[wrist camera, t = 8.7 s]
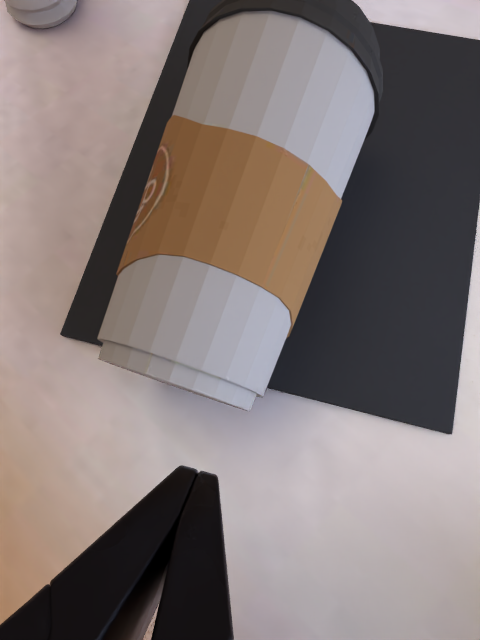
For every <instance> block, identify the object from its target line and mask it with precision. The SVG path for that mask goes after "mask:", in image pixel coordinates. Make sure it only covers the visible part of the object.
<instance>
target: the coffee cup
mask: <svg viewBox="0 0 480 640" xmlns="http://www.w3.org/2000/svg"><path fill="white" fill-rule="evenodd" d="M187 68H188V70H187V73H186V76H185V79H184V82H183V85H182V88H181V91H180V94H179V97H178V100H177V103H176V105H175V108H174V111H173V114H172V117H171V118H170V119H169V121H168V122H167V125H166V128H165V130H164V133H163V136H162V139H161V142H160V145H159V148H158V151H157V154H156V157H155V160H154V163H153V166H152V169H151V172H150V175H149V178H148V181H147V184H146V187H145V190H144V193H143V196H142V199H141V202H140V205H139V208H138V211H137V214H136V217H135V220H134V223H133V226H132V229H131V232H130V235H129V238H128V241H127V244H126V247H125V250H124V253H123V256H122V259H121V262H120V265H119V267H118V270H117V273H116V275H117V276H118V278H117V281H116V284H115V287H114V290H113V293H112V296H111V299H110V302H109V305H108V308H107V311H106V314H105V317H104V320H103V323H102V326H101V329H100V332H99V335H98V338H97V339H98V340H99V341H101V342H103V346H102V349H101V352H100V355H99V358H98V359H100V360H102V361H105V362H107V363H110V364H113V365H115V366H118V367H121V368H124V369H126V370H129V371H132V372H135V373H138V374H140V375H143V376H146V377H149V378H152V379H155V380H157V381H160V382H163V383H166V384H169V385H172V386H175V387H178V388H180V389H183V390H186V391H189V392H192V393H195V394H198V395H201V396H204V397H207V398H210V399H213V400H216V401H219V402H222V403H225V404H228V405H231V406H234V407H237V408H240V409H243V410H246V411H250V410H251V407H252V405H253V402H254V400H255V397H256V396H257V397H263V395H264V393H265V390H266V388H267V385H268V383H269V380H270V378H271V375H272V373H273V370H274V367H275V365H276V362H277V360H278V357H279V355H280V352H281V350H282V347H283V345H284V342H285V340H286V338H287V337H289V335H290V333H291V330H292V328H293V325H294V323H295V320H296V318H297V315H298V313H299V310H300V308H301V305H302V302H303V300H304V297H305V295H306V292H307V290H308V287H309V285H310V282H311V280H312V277H313V275H314V272H315V270H316V267H317V264H318V262H319V259H320V257H321V254H322V252H323V249H324V247H325V244H326V242H327V239H328V237H329V234H330V231H331V229H332V226H333V224H334V221H335V219H336V216H337V214H338V211H339V209H340V206H341V204H342V200H341V197H342V195H343V192H344V190H345V187H346V185H347V182H348V180H349V177H350V175H351V172H352V170H353V167H354V165H355V162H356V159H357V157H358V154H359V152H360V149H361V147H362V144H363V142H364V141H365V140H366V139H367V138H368V136H369V135H370V134H371V133H372V132H373V129H374V126H375V124H376V121H377V118H378V116H379V102H380V100H381V97H382V92H383V68H382V65H381V62H380V48H379V44H378V41H377V38H376V35H375V32H374V29H373V26H372V25H371V23H370V22H369V20H368V19H367V18H366V16H365V15H364V13H363V12H362V10H361V9H360V7H359V6H358V5H357V4H355V3H354V2H353V1H352V0H222V1H221V2H219V3H218V4H217V5H216V6H215V7H213V8H212V10H211V11H210V13H209V15H208V17H207V18H206V20H205V22H204V24H203V26H202V27H201V29H200V30H199V31H198V33H197V35H196V37H195V38H194V40H193V42H192V44H191V46H190V48H189V56H188V64H187Z"/></svg>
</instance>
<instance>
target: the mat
mask: <svg viewBox="0 0 480 640" xmlns="http://www.w3.org/2000/svg"><path fill="white" fill-rule="evenodd" d="M221 1H222V0H190V1H189V3H188V6H187V8H186V11H185V14H184V16H183V19H182V21H181V24H180V26H179V29H178V32H177V34H176V37H175V39H174V42H173V44H172V47H171V50H170V52H169V55H168V57H167V60H166V63H165V65H164V68H163V70H162V73H161V75H160V78H159V81H158V83H157V86H156V88H155V91H154V94H153V96H152V99H151V101H150V104H149V106H148V109H147V112H146V114H145V117H144V119H143V122H142V124H141V127H140V130H139V132H138V135H137V137H136V140H135V143H134V145H133V148H132V150H131V153H130V155H129V158H128V161H127V163H126V166H125V168H124V171H123V173H122V176H121V179H120V181H119V184H118V186H117V189H116V192H115V194H114V197H113V199H112V202H111V204H110V207H109V210H108V212H107V215H106V217H105V220H104V222H103V225H102V228H101V230H100V233H99V235H98V238H97V241H96V243H95V246H94V248H93V251H92V253H91V256H90V259H89V261H88V264H87V266H86V269H85V271H84V274H83V277H82V279H81V282H80V284H79V287H78V290H77V292H76V295H75V297H74V300H73V302H72V305H71V308H70V310H69V313H68V315H67V318H66V321H65V323H64V326H63V328H62V331H61V333H60V334H61V335H62V336H65V337H69V338H73V339H77V340H81V341H85V342H89V343H92V344H96V345H100V346H103V342H101V341H99V340H98V339H97V338H98V335H99V332H100V329H101V326H102V323H103V320H104V317H105V314H106V311H107V308H108V305H109V302H110V299H111V296H112V293H113V290H114V287H115V284H116V281H117V278H118V276H117V275H116V273H117V270H118V267H119V265H120V262H121V259H122V256H123V253H124V250H125V247H126V244H127V241H128V238H129V235H130V232H131V229H132V226H133V223H134V220H135V217H136V214H137V211H138V208H139V205H140V202H141V199H142V196H143V193H144V190H145V187H146V184H147V181H148V178H149V175H150V172H151V169H152V166H153V163H154V160H155V157H156V154H157V151H158V148H159V145H160V142H161V139H162V136H163V133H164V130H165V128H166V125H167V122H168V121H169V119H170V118H171V117H172V114H173V111H174V108H175V105H176V103H177V100H178V97H179V94H180V91H181V88H182V85H183V82H184V79H185V76H186V73H187V70H188V68H187V64H188V56H189V48H190V46H191V44H192V42H193V40H194V38H195V37H196V35H197V33H198V31H199V30H200V29H201V27H202V26H203V24H204V22H205V20H206V18H207V17H208V15H209V13H210V11H211V10H212V8H213V7H215V6H216V5H217V4H218V3H219V2H221ZM370 23H371V25H372V26H373V29H374V32H375V35H376V38H377V41H378V44H379V48H380V62H381V65H382V68H383V92H382V97H381V100H380V102H379V116H378V118H377V121H376V124H375V126H374V129H373V132H372V133H371V134H370V135H369V136H368V138H367V139H366V140H365V141H364V142H363V144H362V147H361V149H360V152H359V154H358V157H357V159H356V162H355V165H354V167H353V170H352V172H351V175H350V177H349V180H348V182H347V185H346V187H345V190H344V192H343V195H342V197H341V200H342V204H341V206H340V209H339V211H338V214H337V216H336V219H335V221H334V224H333V226H332V229H331V231H330V234H329V237H328V239H327V242H326V244H325V247H324V249H323V252H322V254H321V257H320V259H319V262H318V264H317V267H316V270H315V272H314V275H313V277H312V280H311V282H310V285H309V287H308V290H307V292H306V295H305V297H304V300H303V302H302V305H301V308H300V310H299V313H298V315H297V318H296V320H295V323H294V325H293V328H292V330H291V333H290V335H289V337H287V338H286V340H285V342H284V345H283V347H282V350H281V352H280V355H279V357H278V360H277V362H276V365H275V367H274V370H273V373H272V375H271V378H270V380H269V383H268V385H267V388H270V389H274V390H278V391H281V392H285V393H289V394H293V395H297V396H301V397H305V398H309V399H313V400H317V401H321V402H325V403H329V404H333V405H337V406H341V407H344V408H348V409H352V410H356V411H360V412H364V413H368V414H372V415H376V416H380V417H384V418H388V419H392V420H396V421H400V422H404V423H407V424H411V425H415V426H419V427H423V428H427V429H431V430H435V431H439V432H443V433H447V434H452V429H453V421H454V412H455V404H456V395H457V387H458V378H459V370H460V362H461V353H462V345H463V336H464V328H465V319H466V311H467V303H468V294H469V286H470V277H471V269H472V260H473V252H474V244H475V235H476V227H477V218H478V210H479V201H480V40H475V39H469V38H463V37H457V36H451V35H445V34H439V33H432V32H426V31H420V30H414V29H408V28H402V27H396V26H390V25H384V24H378V23H372V22H370Z"/></svg>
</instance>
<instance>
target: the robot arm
mask: <svg viewBox="0 0 480 640" xmlns="http://www.w3.org/2000/svg"><path fill="white" fill-rule="evenodd" d="M159 601H160V603H159ZM158 604H159V607H158V612H157V616H156V621H155V625H154V629H153V634H152V638H151V640H234V636H233V626H232V616H231V605H230V595H229V585H228V575H227V564H226V554H225V544H224V534H223V523H222V513H221V503H220V493H219V483H218V477H217V475H215V474H212V473H208V472H204V471H200V472H199V473H198V471H197V470H196V469H194V468H190V467H186V466H179V467H178V468H176V469H175V470H174V471H173V472H172V473H171V474H170V475H168V476H167V477H166V478H165V479H164V480H163V481H162V482H161V483H160V484H158V485H157V486H156V487H155V488H154V489H153V490H152V491H151V492H150V493H148V494H147V495H146V496H145V497H144V498H143V499H142V500H141V501H139V502H138V503H137V504H136V505H135V506H134V507H133V508H132V509H131V510H129V511H128V512H127V513H126V514H125V515H124V516H123V517H122V518H121V519H119V520H118V521H117V522H116V523H115V524H114V525H113V526H112V527H110V528H109V529H108V530H107V531H106V532H105V533H104V534H103V535H102V536H100V537H99V538H98V539H97V540H96V541H95V542H94V543H93V544H91V545H90V546H89V547H88V548H87V549H86V550H85V551H84V552H83V553H81V554H80V555H79V556H78V557H77V558H76V559H75V560H74V561H73V562H71V563H70V564H69V565H68V566H67V567H66V568H65V569H64V570H62V571H61V572H60V573H59V574H58V575H57V576H56V577H55V578H54V579H52V580H51V582H50V585H49V584H47V585H45V586H44V587H43V588H42V589H41V590H40V591H39V592H38V593H37V594H35V595H34V596H33V597H32V598H31V599H30V600H29V601H28V602H26V603H25V604H24V605H23V606H22V607H21V608H19V609H18V610H17V611H16V612H15V613H14V614H12V615H11V616H10V617H9V618H8V619H6V620H5V621H4V622H3V623H2V624H1V625H0V640H143V638H144V635H145V633H146V631H147V629H148V626H149V624H150V622H151V619H152V617H153V615H154V613H155V610H156V608H157V606H158Z"/></svg>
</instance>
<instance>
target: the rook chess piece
mask: <svg viewBox="0 0 480 640" xmlns="http://www.w3.org/2000/svg"><path fill="white" fill-rule="evenodd" d="M4 1H5V2H6V7H7V11H8V13H9V14H10V15H11V16H12V17H13V18H14V19H15V20H17V21H19V22H20V23H22V24H25V25H27V26H30V27H32V28H49V27H53V26H57V25H59V24H60V23H62V22H64V21H65V20H67V19H68V18H69V17H70V16H71V14H72V13H73V12H74V11H75V7H76V4H77V0H4Z"/></svg>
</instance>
